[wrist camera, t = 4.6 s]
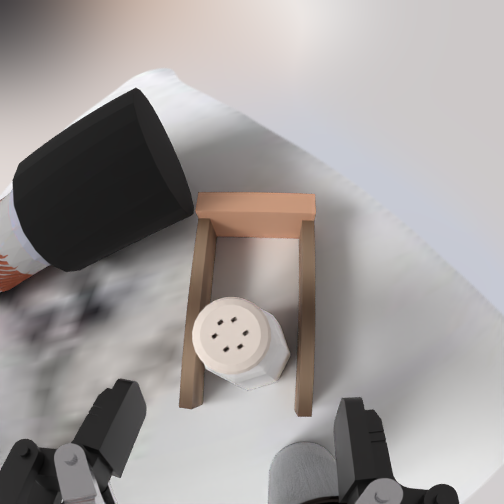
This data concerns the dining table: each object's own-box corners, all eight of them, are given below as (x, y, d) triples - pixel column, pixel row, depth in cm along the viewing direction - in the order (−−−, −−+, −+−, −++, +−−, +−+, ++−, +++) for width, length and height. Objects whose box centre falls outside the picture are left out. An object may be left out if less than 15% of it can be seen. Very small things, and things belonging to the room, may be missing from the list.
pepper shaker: (306, 355, 20) (341, 339, 10) (246, 406, 19) (220, 441, 9) (255, 298, 22) (240, 232, 12) (197, 347, 21) (129, 322, 11)
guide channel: (306, 410, 19) (313, 418, 15) (191, 403, 19) (173, 409, 16) (309, 221, 24) (314, 193, 20) (209, 219, 25) (198, 192, 21)
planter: (282, 503, 16) (287, 585, 7) (259, 454, 18) (248, 518, 8) (342, 481, 16) (389, 548, 7) (322, 431, 18) (362, 478, 9)
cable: (-24, 300, 28) (-69, 248, 22) (188, 178, 27) (140, 80, 21) (-46, 361, 21) (-103, 305, 14) (200, 243, 20) (122, 101, 13)
